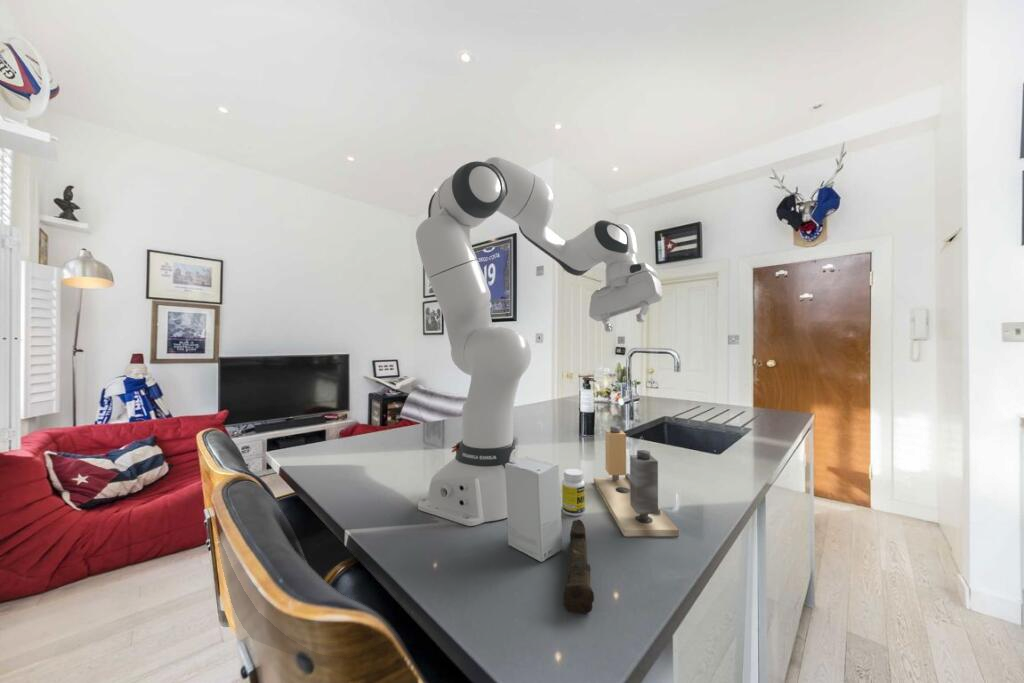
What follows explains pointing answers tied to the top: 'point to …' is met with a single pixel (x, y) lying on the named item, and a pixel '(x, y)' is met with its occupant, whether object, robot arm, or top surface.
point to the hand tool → (578, 573)
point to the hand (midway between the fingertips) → (624, 326)
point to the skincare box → (533, 507)
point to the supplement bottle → (573, 492)
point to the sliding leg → (615, 452)
